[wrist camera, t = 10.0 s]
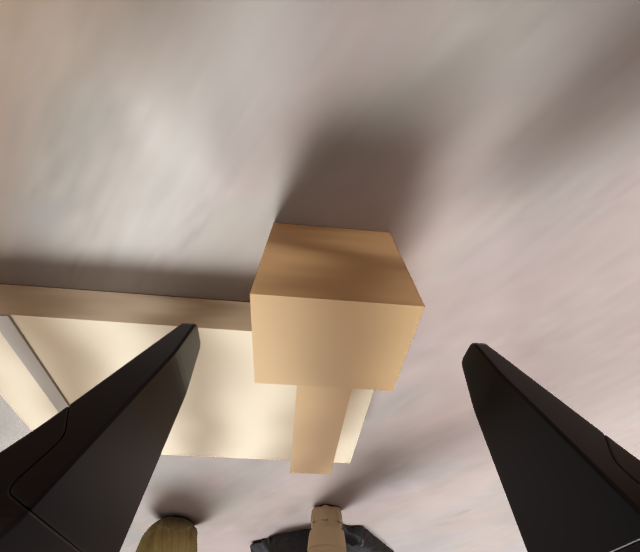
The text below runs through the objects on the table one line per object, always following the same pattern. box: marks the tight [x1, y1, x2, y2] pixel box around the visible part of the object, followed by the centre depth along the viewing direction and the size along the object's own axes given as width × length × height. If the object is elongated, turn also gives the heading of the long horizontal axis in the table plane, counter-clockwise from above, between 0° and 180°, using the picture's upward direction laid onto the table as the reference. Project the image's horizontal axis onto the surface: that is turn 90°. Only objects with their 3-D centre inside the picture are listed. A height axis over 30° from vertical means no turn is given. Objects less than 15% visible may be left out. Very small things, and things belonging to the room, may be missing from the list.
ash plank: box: [0, 284, 374, 463], centre depth 17 cm, size 20×12×2 cm, turn 85°
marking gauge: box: [250, 223, 425, 474], centre depth 13 cm, size 5×11×5 cm, turn 175°
